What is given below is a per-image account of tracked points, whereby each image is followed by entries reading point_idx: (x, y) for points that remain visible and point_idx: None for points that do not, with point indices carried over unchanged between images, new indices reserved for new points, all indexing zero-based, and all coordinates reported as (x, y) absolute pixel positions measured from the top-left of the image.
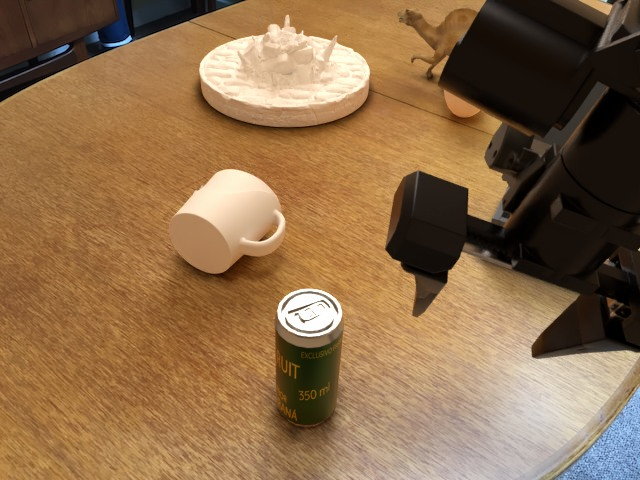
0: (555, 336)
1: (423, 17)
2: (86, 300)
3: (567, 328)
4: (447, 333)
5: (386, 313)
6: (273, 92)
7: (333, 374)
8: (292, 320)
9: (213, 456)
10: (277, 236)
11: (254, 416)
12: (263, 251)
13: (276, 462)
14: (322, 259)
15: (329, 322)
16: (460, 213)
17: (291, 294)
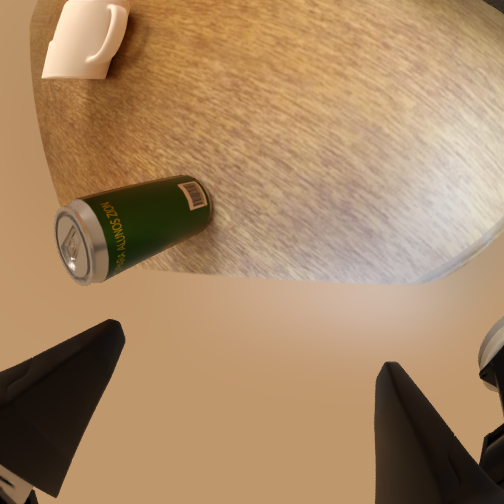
0: (389, 452)
1: None
2: (63, 139)
3: (397, 486)
4: (344, 74)
5: (259, 57)
6: None
7: (158, 246)
8: (68, 256)
9: None
10: (109, 36)
11: None
12: (107, 56)
13: (181, 262)
14: (184, 10)
15: (86, 265)
16: None
17: (55, 220)
